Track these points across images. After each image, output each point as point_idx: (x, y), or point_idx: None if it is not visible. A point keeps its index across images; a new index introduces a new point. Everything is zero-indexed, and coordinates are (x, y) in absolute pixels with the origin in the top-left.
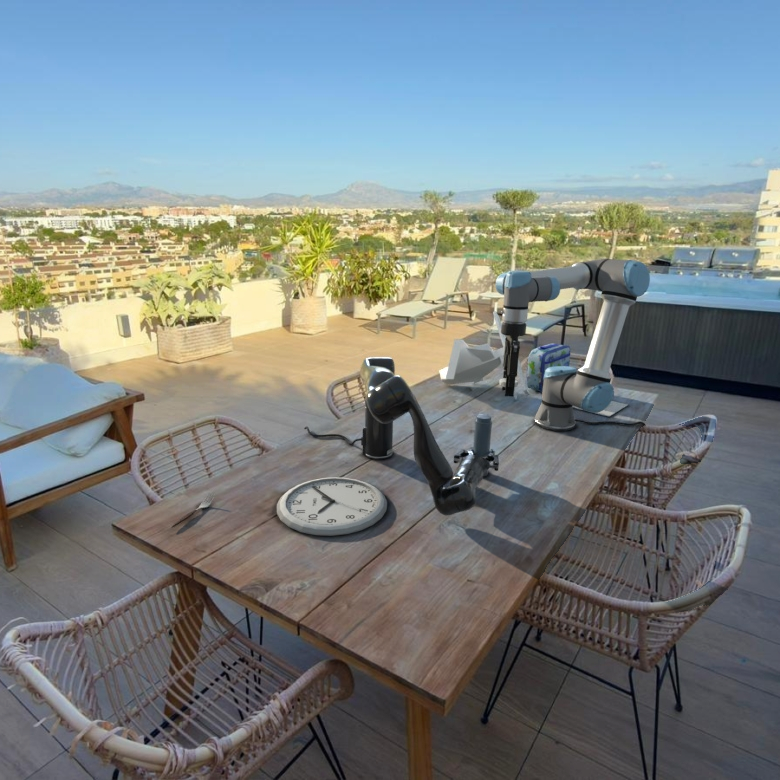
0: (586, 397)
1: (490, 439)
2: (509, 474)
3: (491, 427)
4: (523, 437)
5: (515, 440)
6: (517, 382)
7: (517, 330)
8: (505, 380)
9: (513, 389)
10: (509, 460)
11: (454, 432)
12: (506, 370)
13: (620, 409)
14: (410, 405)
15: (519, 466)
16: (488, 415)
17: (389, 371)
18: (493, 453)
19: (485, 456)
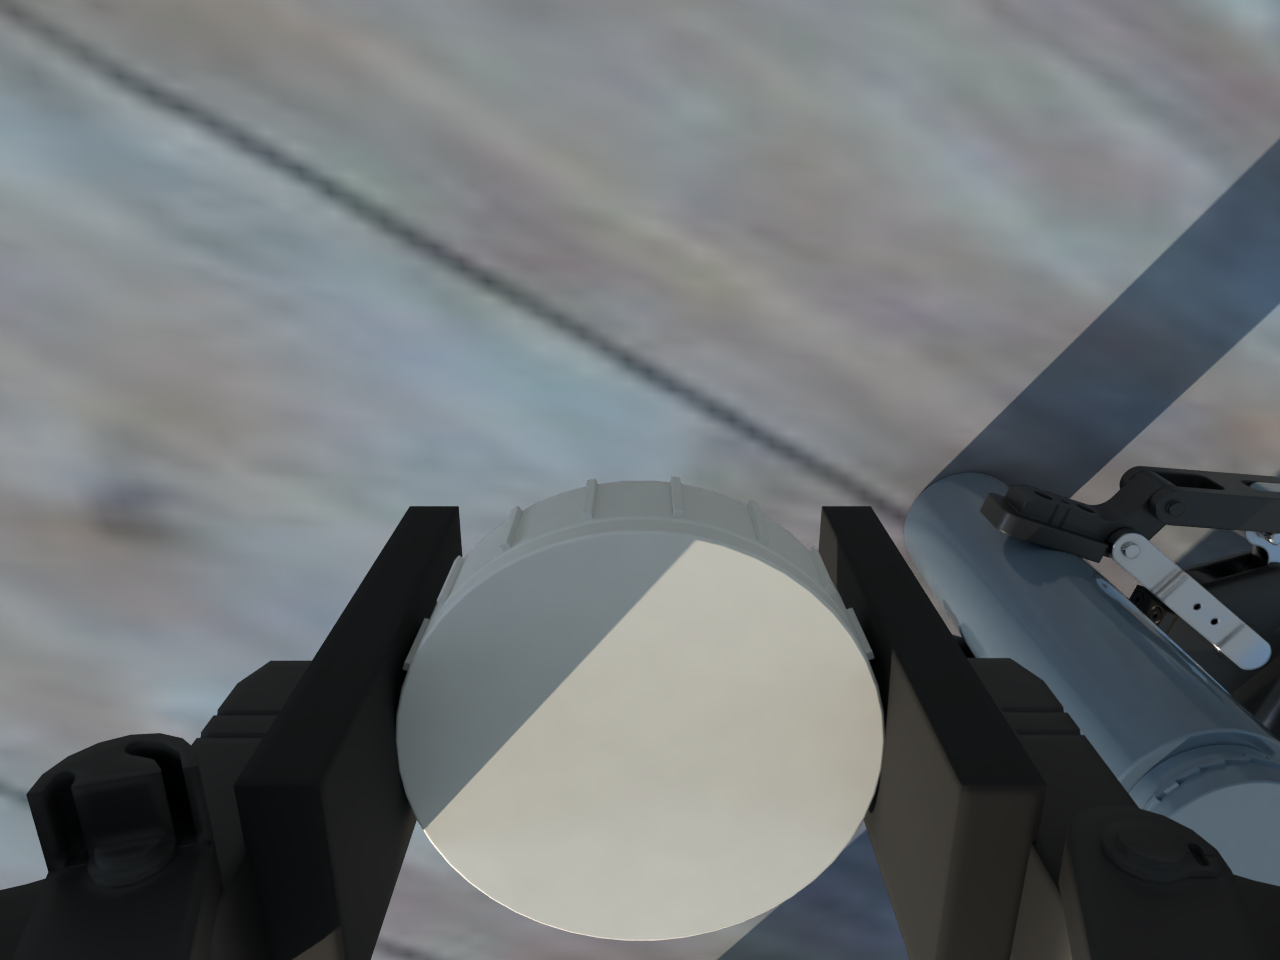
0: None
1: (1127, 611)
2: (990, 308)
3: (1202, 685)
4: (136, 33)
5: (243, 137)
6: (703, 525)
7: None
8: (664, 829)
9: (913, 589)
10: (722, 268)
11: (200, 657)
12: (261, 951)
13: None
14: None
15: (839, 198)
16: (1212, 805)
17: None
18: (1081, 515)
19: (1220, 609)
